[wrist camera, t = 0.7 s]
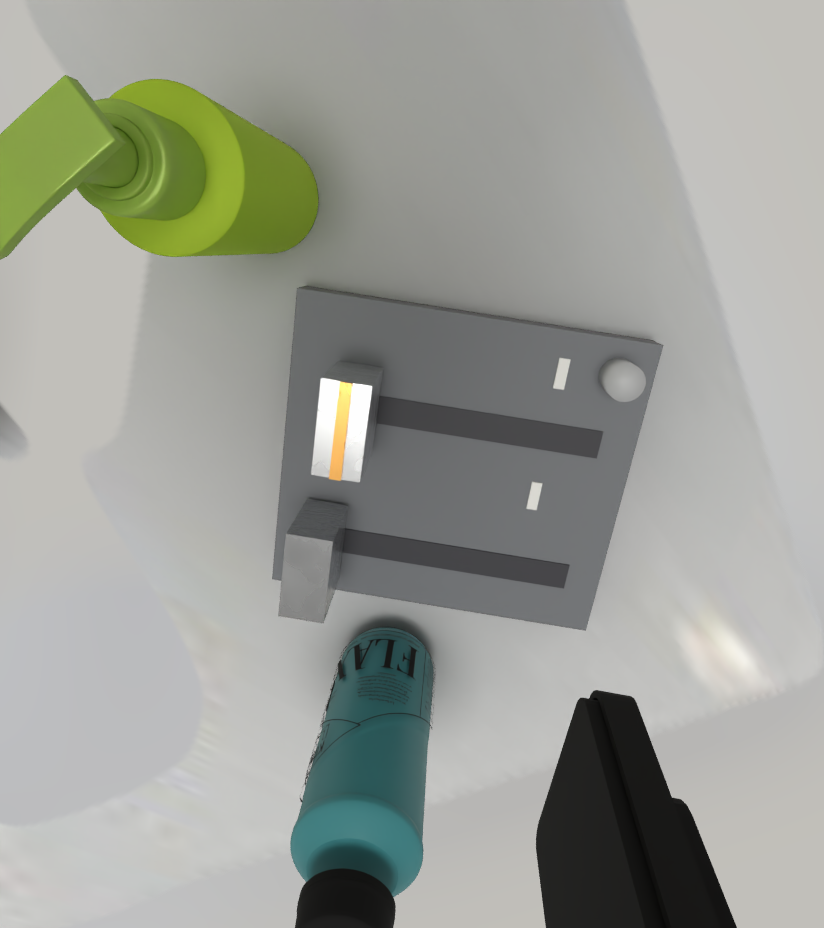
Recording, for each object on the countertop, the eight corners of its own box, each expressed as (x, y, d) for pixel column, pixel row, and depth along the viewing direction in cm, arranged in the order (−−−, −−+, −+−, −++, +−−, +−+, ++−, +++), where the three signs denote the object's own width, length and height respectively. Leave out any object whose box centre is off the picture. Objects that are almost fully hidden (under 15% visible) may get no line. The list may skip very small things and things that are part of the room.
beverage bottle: (435, 611, 43) (418, 894, 24) (437, 694, 45) (424, 1015, 26) (339, 610, 44) (248, 888, 25) (345, 693, 46) (266, 1007, 27)
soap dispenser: (178, 197, 36) (-130, 142, 17) (272, 114, 34) (46, -49, 15) (246, 285, 37) (29, 325, 18) (340, 209, 36) (207, 167, 17)
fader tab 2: (306, 498, 39) (285, 533, 34) (348, 505, 39) (333, 541, 34) (299, 572, 40) (278, 615, 36) (339, 579, 40) (323, 623, 36)
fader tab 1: (338, 360, 36) (319, 378, 31) (383, 367, 36) (371, 386, 31) (329, 446, 38) (310, 475, 33) (372, 452, 37) (359, 483, 33)
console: (305, 285, 37) (288, 290, 33) (652, 340, 37) (675, 351, 33) (280, 564, 43) (263, 595, 39) (580, 613, 43) (591, 649, 39)
